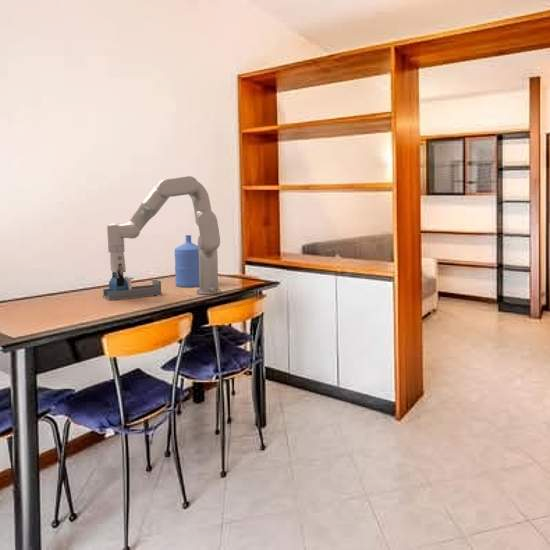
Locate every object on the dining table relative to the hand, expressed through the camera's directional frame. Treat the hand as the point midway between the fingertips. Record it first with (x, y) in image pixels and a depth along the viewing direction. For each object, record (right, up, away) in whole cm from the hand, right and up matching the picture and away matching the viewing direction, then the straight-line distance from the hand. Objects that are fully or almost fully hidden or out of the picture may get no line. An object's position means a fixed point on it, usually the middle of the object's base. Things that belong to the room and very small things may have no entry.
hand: (118, 284), depth 254 cm
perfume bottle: (0, -5, +1) cm, 5 cm away
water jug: (+29, -1, +37) cm, 47 cm away
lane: (+6, -6, +5) cm, 9 cm away
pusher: (+5, -5, +4) cm, 7 cm away
